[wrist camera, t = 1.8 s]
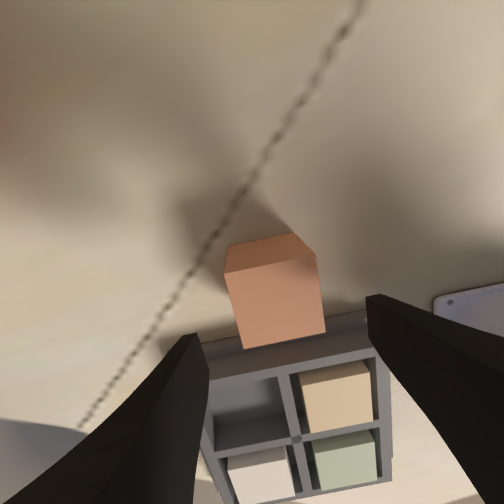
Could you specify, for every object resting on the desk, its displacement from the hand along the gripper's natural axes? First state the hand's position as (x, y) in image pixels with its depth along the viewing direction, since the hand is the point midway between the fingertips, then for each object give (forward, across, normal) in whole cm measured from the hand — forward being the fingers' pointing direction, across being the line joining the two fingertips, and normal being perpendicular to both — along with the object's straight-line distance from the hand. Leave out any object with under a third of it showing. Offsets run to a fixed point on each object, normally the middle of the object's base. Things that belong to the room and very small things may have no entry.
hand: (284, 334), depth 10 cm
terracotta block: (+7, 0, 0) cm, 7 cm away
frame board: (+7, 0, +13) cm, 15 cm away
